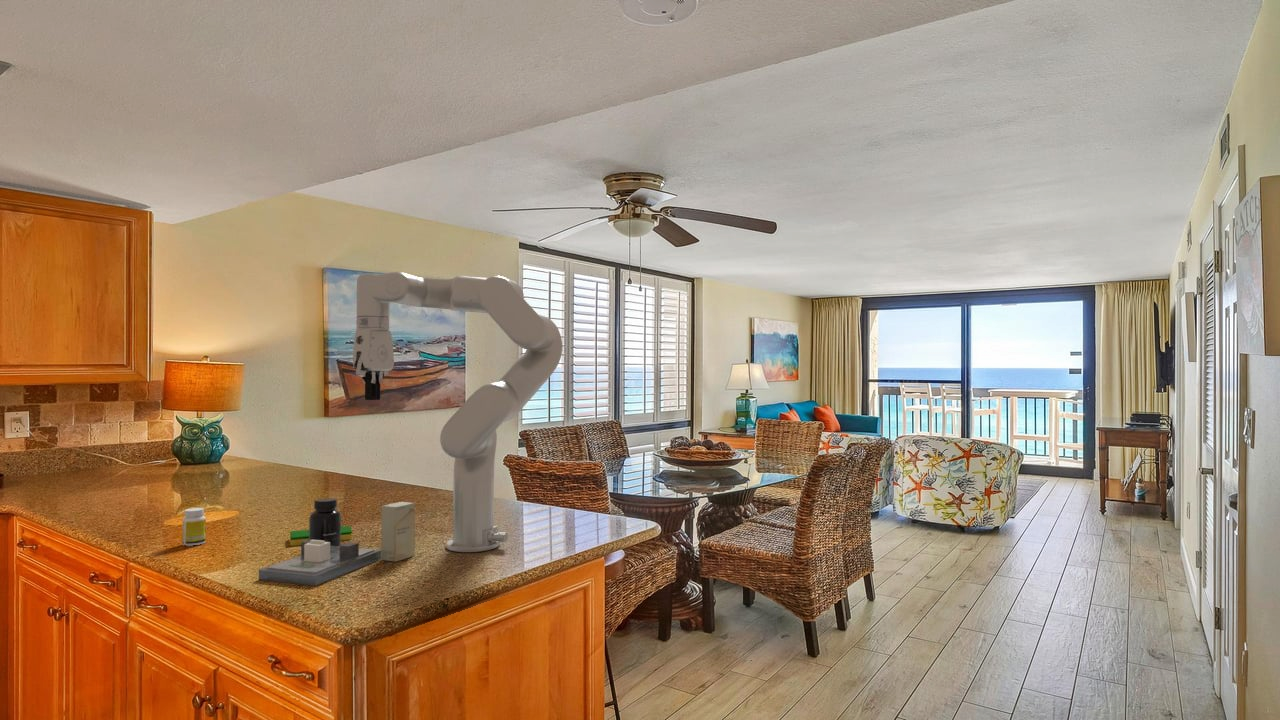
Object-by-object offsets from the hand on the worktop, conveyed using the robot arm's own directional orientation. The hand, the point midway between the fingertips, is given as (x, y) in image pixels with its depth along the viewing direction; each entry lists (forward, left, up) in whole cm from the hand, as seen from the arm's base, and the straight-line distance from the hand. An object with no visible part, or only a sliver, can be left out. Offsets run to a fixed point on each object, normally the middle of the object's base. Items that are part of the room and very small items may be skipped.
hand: (372, 399), depth 170 cm
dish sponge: (+15, 0, -36) cm, 39 cm away
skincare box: (-14, +9, -35) cm, 39 cm away
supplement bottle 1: (+41, +13, -35) cm, 56 cm away
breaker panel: (-4, +21, -35) cm, 41 cm away
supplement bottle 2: (+6, +9, -35) cm, 37 cm away
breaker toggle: (-4, +23, -33) cm, 40 cm away
